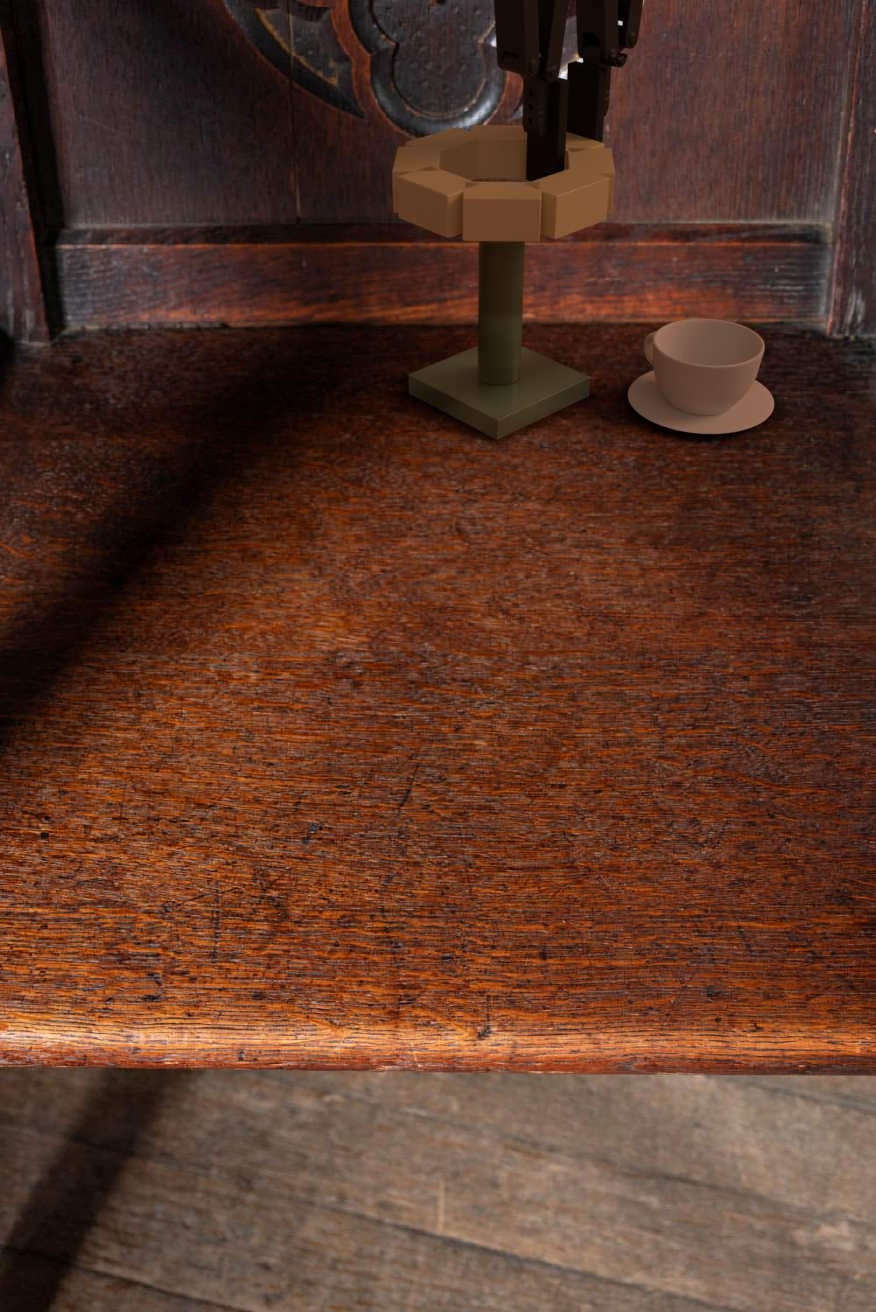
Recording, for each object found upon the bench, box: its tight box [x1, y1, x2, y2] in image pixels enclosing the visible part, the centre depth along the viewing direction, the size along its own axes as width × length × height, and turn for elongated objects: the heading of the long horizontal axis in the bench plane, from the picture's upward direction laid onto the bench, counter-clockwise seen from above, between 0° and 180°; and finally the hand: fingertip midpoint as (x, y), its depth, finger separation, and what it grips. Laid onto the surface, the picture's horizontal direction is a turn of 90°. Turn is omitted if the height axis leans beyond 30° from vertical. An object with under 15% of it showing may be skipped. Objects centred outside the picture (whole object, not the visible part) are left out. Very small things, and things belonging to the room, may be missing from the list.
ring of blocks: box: [391, 124, 616, 243], centre depth 79 cm, size 14×14×3 cm
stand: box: [407, 241, 591, 441], centre depth 85 cm, size 9×9×12 cm
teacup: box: [627, 318, 775, 435], centre depth 86 cm, size 10×10×5 cm
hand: (563, 176), depth 83 cm, fingers closed on ring of blocks, 3 cm apart
